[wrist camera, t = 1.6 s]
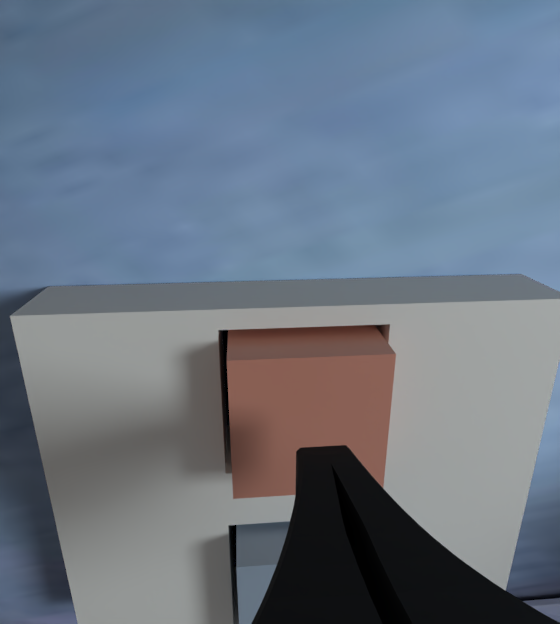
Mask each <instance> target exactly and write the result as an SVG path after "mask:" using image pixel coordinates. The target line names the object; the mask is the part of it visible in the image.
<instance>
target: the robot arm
mask: <svg viewBox="0 0 560 624" xmlns="http://www.w3.org/2000/svg"><path fill="white" fill-rule="evenodd" d="M251 624H560V598H552V599H541V600H529V601H521V600H520V599H518V598H516V597H515V596H513V595H511V594H510V593H508V592H507V591H505V590H504V589H502V588H501V587H499V586H498V585H496V584H495V583H493V582H492V581H490V580H489V579H487V578H486V577H484V576H483V575H482V574H480V573H479V572H477V571H476V570H475V569H473V568H472V567H470V566H469V565H467V564H466V563H465V562H463V561H462V560H461V559H459V558H458V557H457V556H455V555H454V554H453V553H452V552H450V551H449V550H448V549H447V548H446V547H444V546H443V545H442V544H441V543H439V542H438V541H437V540H436V539H435V538H433V537H432V536H431V535H430V534H429V533H428V532H427V531H425V530H424V529H423V528H422V527H421V526H420V525H419V524H418V523H417V522H416V521H415V520H414V519H413V518H412V517H411V516H410V515H408V514H407V513H406V512H405V511H404V510H403V509H402V508H401V507H400V506H399V505H398V504H397V503H396V501H395V500H394V499H393V498H392V497H391V496H390V495H389V494H388V493H387V492H386V491H385V490H384V489H383V488H382V486H381V485H380V484H379V483H378V482H377V481H376V480H375V479H374V477H373V476H372V475H371V474H370V473H369V472H368V470H367V469H366V468H365V467H364V466H363V464H362V463H361V462H360V461H359V460H358V458H357V457H356V456H355V455H354V453H353V452H352V451H351V450H350V448H348V447H347V446H346V445H338V446H320V447H303V448H299V449H298V450H297V451H296V495H295V501H294V507H293V511H292V515H291V519H290V523H289V527H288V531H287V535H286V538H285V542H284V545H283V548H282V551H281V554H280V557H279V560H278V563H277V566H276V568H275V571H274V574H273V576H272V579H271V581H270V584H269V586H268V589H267V591H266V593H265V596H264V598H263V600H262V603H261V605H260V607H259V609H258V611H257V613H256V615H255V617H254V619H253V621H252V623H251Z"/></svg>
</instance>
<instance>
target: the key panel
mask: <svg viewBox="0 0 560 624" xmlns="http://www.w3.org/2000/svg"><path fill="white" fill-rule="evenodd" d="M10 319H11V323H12V328H13V332H14V337H15V341H16V346H17V351H18V355H19V360H20V364H21V369H22V373H23V378H24V382H25V387H26V391H27V396H28V400H29V405H30V409H31V414H32V418H33V423H34V427H35V432H36V437H37V441H38V446H39V450H40V455H41V459H42V464H43V468H44V473H45V477H46V482H47V486H48V491H49V495H50V500H51V504H52V509H53V513H54V518H55V523H56V527H57V532H58V536H59V541H60V545H61V550H62V554H63V559H64V563H65V568H66V572H67V577H68V581H69V586H70V590H71V595H72V599H73V604H74V609H75V613H76V618H77V622H78V624H239V613H238V592H237V570H236V567H234V553H233V532H232V525H242V524H257V523H272V522H286V521H290V519H291V515H292V511H293V507H294V501H295V495H286V496H271V497H255V498H239V499H233V485H232V464H231V442H230V426H227V410H226V389H225V369H224V349H223V330H238V329H267V328H296V327H325V326H354V325H375V326H376V328H377V329H378V330H379V332H380V333H381V334H382V336H383V337H384V338H385V340H386V341H387V343H388V344H389V345H390V347H391V348H392V349H393V351H394V352H395V353H396V360H395V371H394V381H393V392H392V402H391V413H390V423H389V434H388V444H387V455H386V465H385V476H384V486H383V489H384V490H385V491H386V492H387V493H388V494H389V495H390V496H391V497H392V498H393V499H394V500H395V501H396V503H397V504H398V505H399V506H400V507H401V508H402V509H403V510H404V511H405V512H406V513H407V514H408V515H410V516H411V517H412V518H413V519H414V520H415V521H416V522H417V523H418V524H419V525H420V526H421V527H422V528H423V529H424V530H425V531H427V532H428V533H429V534H430V535H431V536H432V537H433V538H435V539H436V540H437V541H438V542H439V543H441V544H442V545H443V546H444V547H446V548H447V549H448V550H449V551H450V552H452V553H453V554H454V555H455V556H457V557H458V558H459V559H461V560H462V561H463V562H465V563H466V564H467V565H469V566H470V567H472V568H473V569H475V570H476V571H477V572H479V573H480V574H482V575H483V576H484V577H486V578H487V579H489V580H490V581H492V582H493V583H495V584H496V585H498V586H499V587H501V588H502V589H504V590H505V591H506V587H507V583H508V578H509V574H510V570H511V566H512V561H513V557H514V553H515V548H516V544H517V540H518V535H519V531H520V527H521V523H522V518H523V514H524V510H525V505H526V501H527V497H528V492H529V488H530V484H531V480H532V475H533V471H534V467H535V462H536V458H537V454H538V450H539V445H540V441H541V437H542V432H543V428H544V424H545V419H546V415H547V411H548V407H549V402H550V398H551V394H552V389H553V385H554V381H555V377H556V372H557V368H558V364H559V359H560V292H559V291H557V290H554V289H552V288H550V287H548V286H546V285H544V284H542V283H539V282H537V281H535V280H533V279H531V278H529V277H527V276H524V275H522V274H509V275H471V276H433V277H395V278H357V279H319V280H281V281H243V282H204V283H166V284H128V285H90V286H52V287H47V288H46V289H44V290H43V291H42V292H40V293H39V294H38V295H37V296H35V297H34V298H33V299H31V300H30V301H29V302H27V303H26V304H25V305H23V306H22V307H21V308H20V309H18V310H17V311H16V312H14V313H13V314H12V315H10Z"/></svg>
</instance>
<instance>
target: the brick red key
mask: <svg viewBox="0 0 560 624" xmlns="http://www.w3.org/2000/svg"><path fill="white" fill-rule="evenodd" d="M395 360H396V353H395V352H394V351H393V349H392V348H391V347H390V345H389V344H388V343H387V341H386V340H385V338H384V337H383V336H382V334H381V333H380V332H379V330H378V329H377V328H376V326H375V325H354V326H325V327H296V328H267V329H238V330H228V344H227V378H228V400H229V421H230V442H231V464H232V485H233V499H239V498H255V497H271V496H286V495H296V451H297V450H298V449H299V448H303V447H320V446H338V445H346V446H347V447H348V448H350V450H351V451H352V452H353V453H354V455H355V456H356V457H357V458H358V460H359V461H360V462H361V463H362V464H363V466H364V467H365V468H366V469H367V470H368V472H369V473H370V474H371V475H372V476H373V477H374V479H375V480H376V481H377V482H378V483H379V484H380V485H381V486H382V488H383V486H384V476H385V465H386V455H387V444H388V434H389V423H390V413H391V402H392V392H393V381H394V371H395Z"/></svg>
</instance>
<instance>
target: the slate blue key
mask: <svg viewBox="0 0 560 624" xmlns="http://www.w3.org/2000/svg"><path fill="white" fill-rule="evenodd" d="M289 523H290V521H286V522H272V523H257V524H242V525H236V570H237V592H238V613H239V624H251V623H252V621H253V619H254V617H255V615H256V613H257V611H258V609H259V607H260V605H261V603H262V600H263V598H264V596H265V593H266V591H267V589H268V586H269V584H270V581H271V579H272V576H273V574H274V571H275V568H276V566H277V563H278V560H279V557H280V554H281V551H282V548H283V545H284V542H285V538H286V535H287V531H288V527H289Z"/></svg>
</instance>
